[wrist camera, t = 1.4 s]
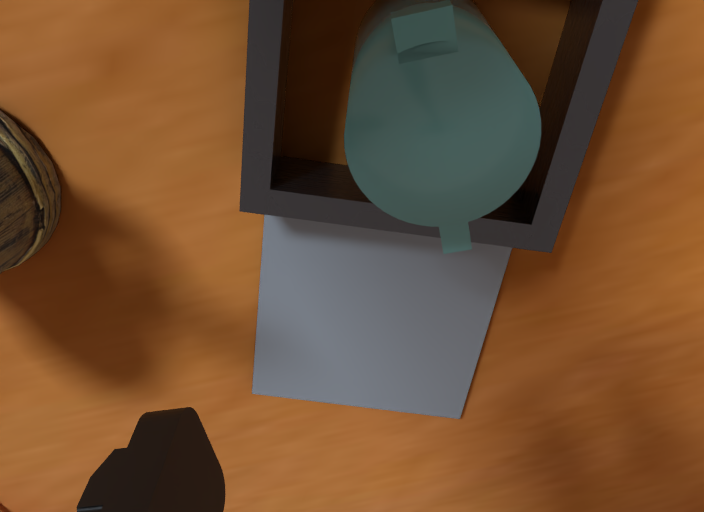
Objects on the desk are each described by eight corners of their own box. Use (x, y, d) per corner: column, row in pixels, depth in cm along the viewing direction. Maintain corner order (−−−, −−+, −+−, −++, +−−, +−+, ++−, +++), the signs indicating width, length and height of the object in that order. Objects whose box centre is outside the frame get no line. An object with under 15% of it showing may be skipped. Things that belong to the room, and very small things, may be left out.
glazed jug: (337, -24, 26) (316, 35, 17) (478, -57, 25) (531, -13, 16) (379, 172, 30) (379, 297, 22) (501, 149, 29) (552, 269, 21)
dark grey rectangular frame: (272, -162, 23) (257, -165, 20) (636, -105, 24) (672, -100, 21) (253, 176, 30) (239, 211, 27) (534, 214, 31) (551, 252, 28)
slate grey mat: (266, 203, 31) (265, 207, 31) (512, 236, 32) (514, 240, 31) (253, 388, 37) (252, 393, 37) (459, 413, 38) (459, 418, 37)
